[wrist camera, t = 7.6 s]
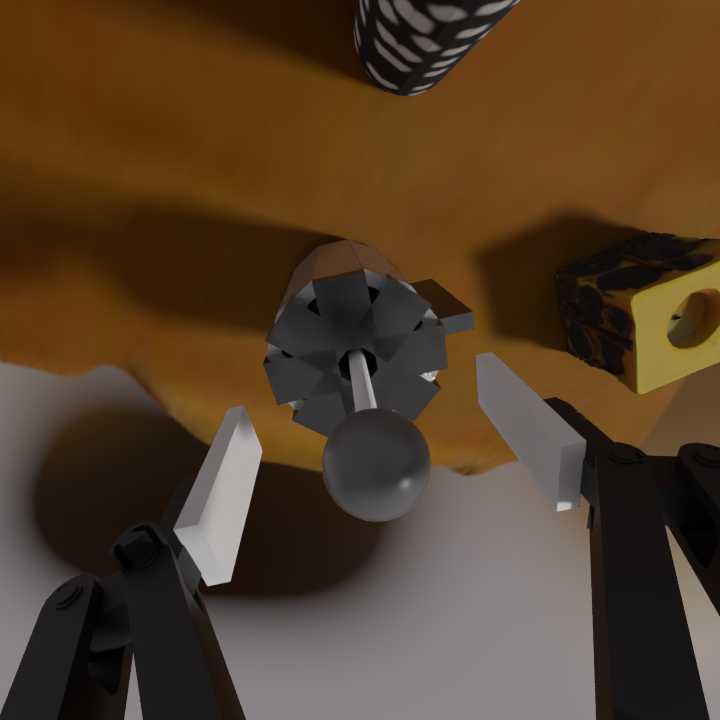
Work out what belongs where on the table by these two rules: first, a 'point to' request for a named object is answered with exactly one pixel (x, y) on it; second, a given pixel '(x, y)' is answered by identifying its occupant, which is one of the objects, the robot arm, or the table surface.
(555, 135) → the table surface
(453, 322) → the grey cylinder
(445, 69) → the spotted tube
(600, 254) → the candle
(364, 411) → the grey ball-topped rod
